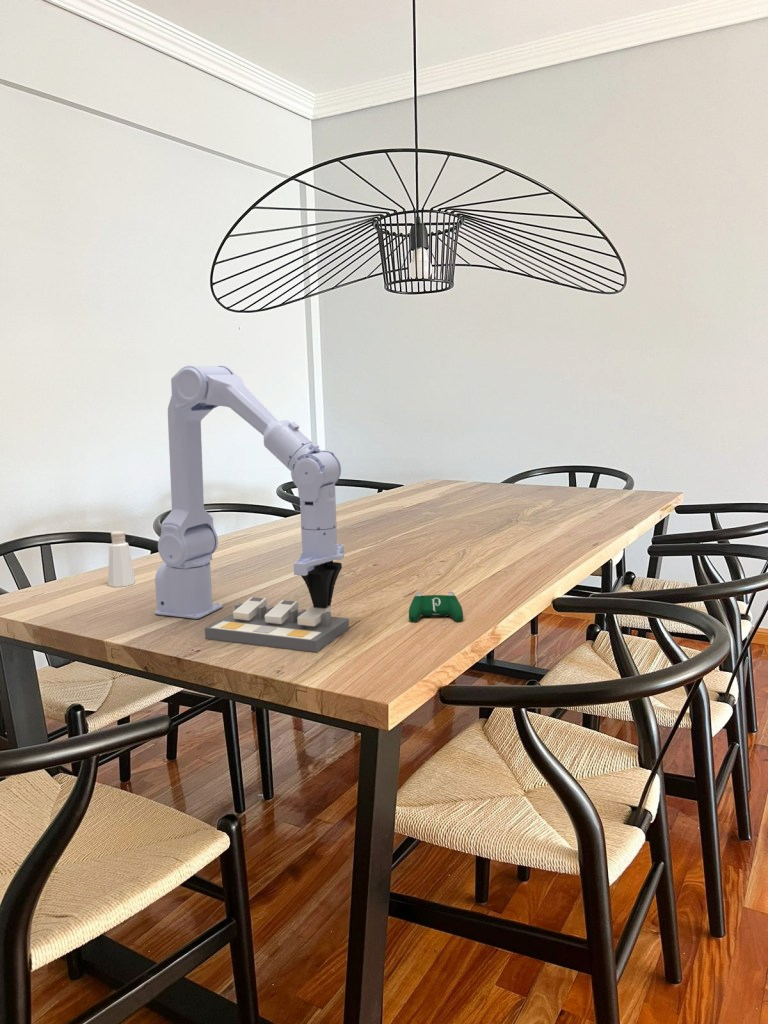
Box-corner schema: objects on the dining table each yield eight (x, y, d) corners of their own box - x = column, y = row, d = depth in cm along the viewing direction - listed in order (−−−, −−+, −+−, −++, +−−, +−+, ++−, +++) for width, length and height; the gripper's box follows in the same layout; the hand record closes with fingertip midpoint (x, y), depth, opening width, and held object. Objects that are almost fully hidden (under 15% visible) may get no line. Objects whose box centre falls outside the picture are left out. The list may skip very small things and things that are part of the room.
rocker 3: (297, 624, 126) (297, 616, 125) (314, 611, 131) (314, 604, 131) (314, 626, 124) (314, 618, 124) (331, 612, 130) (330, 605, 130)
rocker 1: (233, 618, 130) (232, 611, 130) (252, 603, 135) (251, 596, 135) (249, 620, 129) (248, 613, 129) (267, 604, 134) (266, 597, 134)
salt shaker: (102, 586, 161) (98, 533, 159) (119, 579, 166) (115, 528, 164) (124, 588, 159) (120, 534, 158) (141, 581, 164) (137, 529, 163)
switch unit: (205, 638, 127) (204, 615, 127) (245, 617, 138) (244, 596, 138) (316, 652, 120) (315, 628, 119) (349, 628, 131) (348, 606, 130)
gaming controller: (462, 629, 136) (460, 599, 139) (463, 618, 133) (461, 587, 136) (409, 629, 136) (408, 599, 140) (408, 619, 133) (408, 588, 136)
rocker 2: (265, 622, 128) (264, 615, 128) (283, 606, 133) (282, 599, 133) (281, 624, 127) (280, 617, 126) (298, 607, 132) (297, 600, 132)
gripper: (321, 536, 119) (324, 623, 122) (359, 520, 133) (361, 598, 135) (280, 534, 122) (284, 618, 124) (321, 518, 135) (324, 594, 138)
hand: (322, 607), depth 130 cm, fingers closed, pressing on rocker 3
